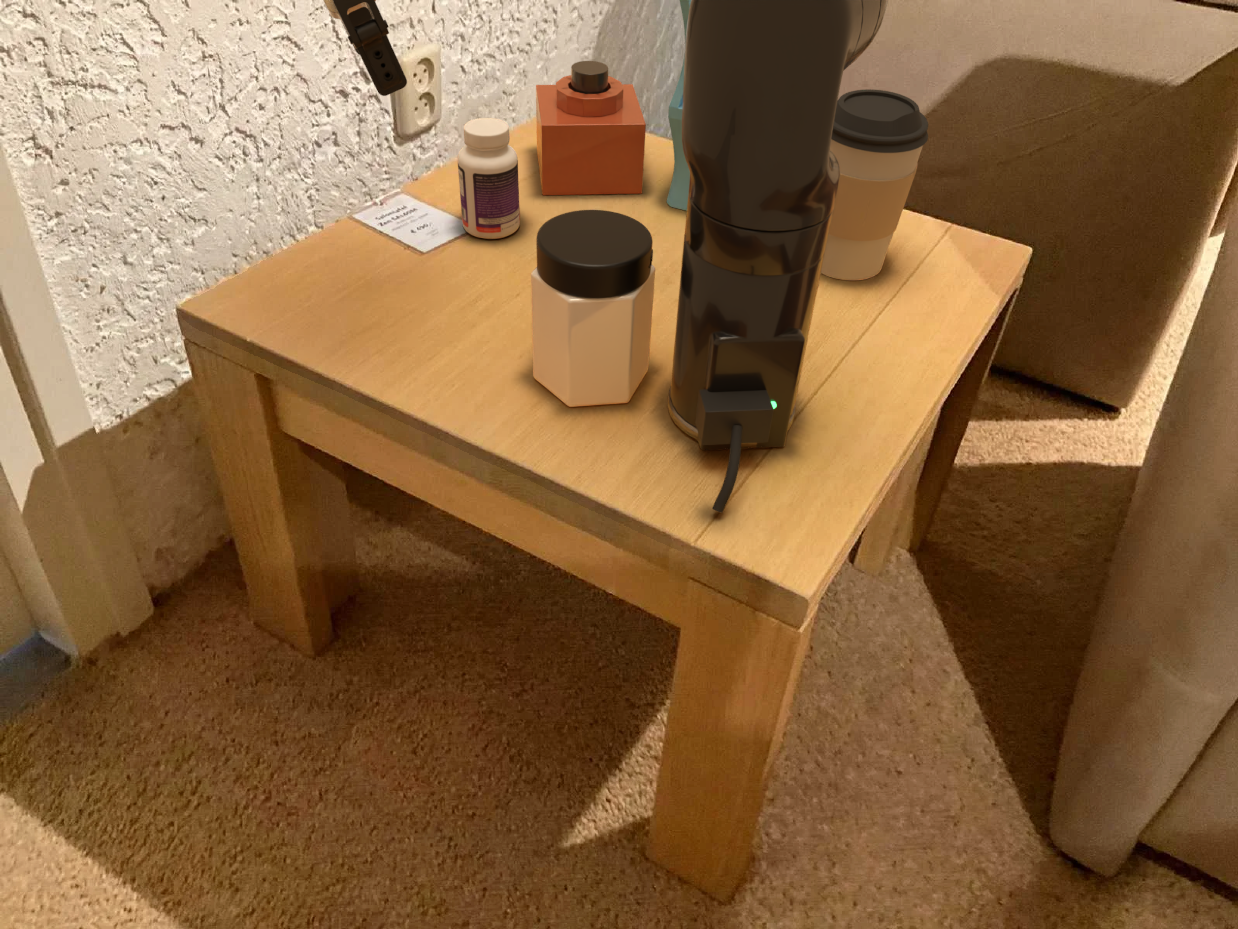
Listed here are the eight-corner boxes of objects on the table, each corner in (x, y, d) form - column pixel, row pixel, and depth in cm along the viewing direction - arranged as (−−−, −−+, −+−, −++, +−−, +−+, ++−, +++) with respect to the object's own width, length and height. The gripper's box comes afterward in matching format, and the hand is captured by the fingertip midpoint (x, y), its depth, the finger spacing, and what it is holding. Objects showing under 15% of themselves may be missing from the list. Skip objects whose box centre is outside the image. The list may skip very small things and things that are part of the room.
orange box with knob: (641, 193, 100) (647, 105, 94) (542, 195, 99) (541, 106, 93) (629, 150, 108) (633, 66, 102) (536, 151, 107) (535, 66, 101)
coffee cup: (775, 256, 92) (801, 94, 82) (837, 227, 97) (869, 70, 87) (853, 298, 87) (890, 132, 77) (914, 265, 92) (957, 104, 82)
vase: (661, 204, 99) (677, -10, 85) (688, 172, 104) (707, -34, 91) (737, 222, 97) (765, 5, 83) (761, 188, 102) (791, -20, 89)
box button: (609, 96, 97) (610, 74, 95) (572, 96, 96) (572, 74, 95) (605, 82, 99) (606, 60, 98) (569, 82, 99) (569, 60, 97)
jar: (669, 384, 77) (681, 245, 69) (585, 424, 73) (588, 281, 65) (597, 330, 82) (601, 195, 74) (515, 365, 78) (509, 226, 70)
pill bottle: (531, 223, 95) (529, 123, 88) (497, 246, 91) (492, 144, 85) (486, 207, 97) (480, 108, 90) (450, 229, 93) (442, 128, 87)
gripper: (343, -178, 57) (452, 82, 69) (307, -215, 67) (407, 17, 79) (223, -125, 57) (353, 128, 68) (204, -171, 67) (320, 57, 78)
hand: (382, 68), depth 74 cm, fingers open, 8 cm apart
